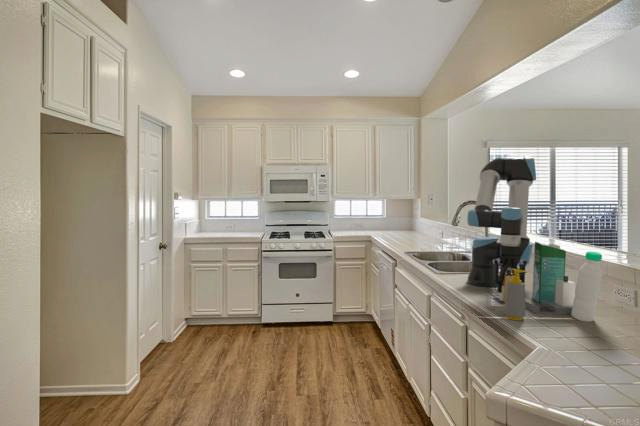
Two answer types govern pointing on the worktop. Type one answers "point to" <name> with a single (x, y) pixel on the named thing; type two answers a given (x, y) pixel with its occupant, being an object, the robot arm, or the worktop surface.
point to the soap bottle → (515, 298)
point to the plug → (506, 279)
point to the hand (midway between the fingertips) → (507, 300)
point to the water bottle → (587, 288)
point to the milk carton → (547, 271)
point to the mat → (499, 301)
